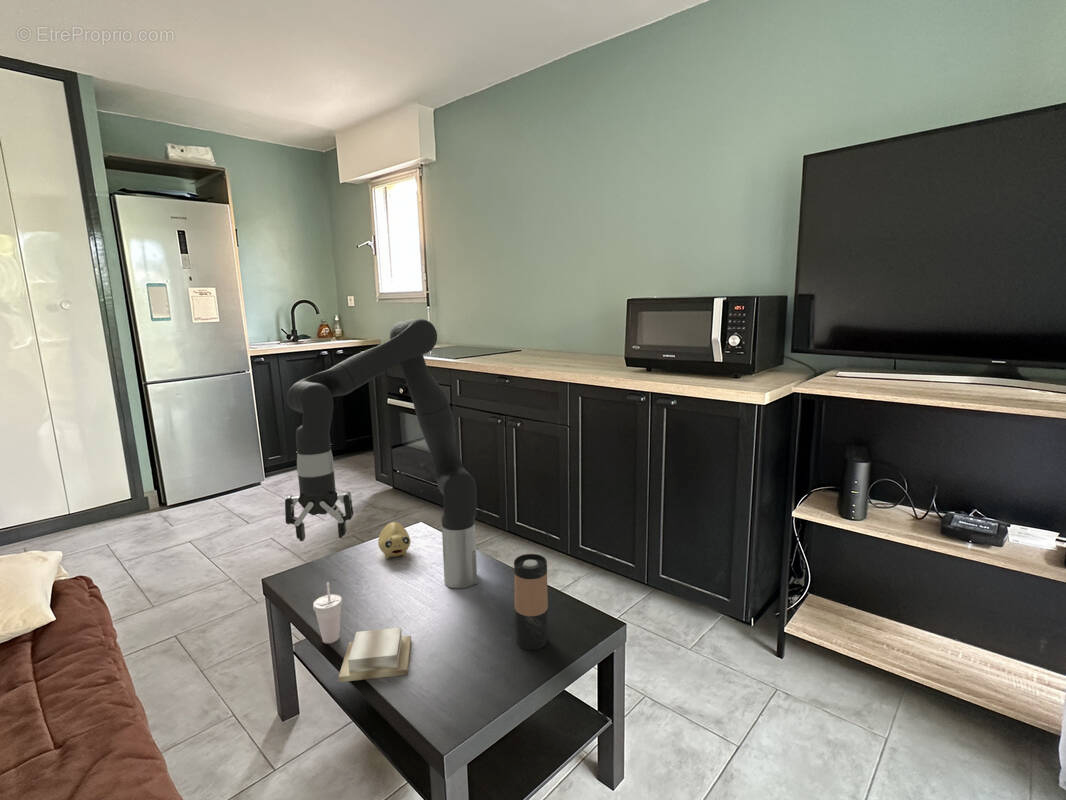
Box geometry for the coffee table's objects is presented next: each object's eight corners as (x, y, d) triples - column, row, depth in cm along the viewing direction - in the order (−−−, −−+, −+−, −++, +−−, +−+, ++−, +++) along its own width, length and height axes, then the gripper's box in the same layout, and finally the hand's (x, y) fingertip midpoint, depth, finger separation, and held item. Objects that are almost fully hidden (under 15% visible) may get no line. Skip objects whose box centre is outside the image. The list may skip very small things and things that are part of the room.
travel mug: (552, 634, 127) (551, 556, 124) (542, 654, 120) (541, 571, 117) (522, 628, 130) (520, 551, 126) (510, 647, 123) (508, 566, 119)
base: (411, 640, 126) (410, 624, 125) (407, 674, 114) (406, 656, 113) (349, 646, 124) (348, 630, 123) (338, 682, 112) (337, 664, 111)
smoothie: (350, 634, 128) (346, 580, 126) (330, 649, 123) (325, 593, 120) (331, 628, 131) (326, 575, 129) (310, 642, 125) (305, 587, 123)
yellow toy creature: (382, 567, 161) (380, 534, 159) (377, 551, 172) (375, 520, 170) (415, 561, 165) (413, 529, 163) (408, 545, 176) (406, 515, 174)
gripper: (352, 463, 124) (356, 529, 127) (287, 467, 122) (294, 533, 125) (345, 473, 117) (351, 543, 120) (277, 477, 115) (284, 548, 118)
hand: (321, 538), depth 123 cm, fingers open, 8 cm apart
